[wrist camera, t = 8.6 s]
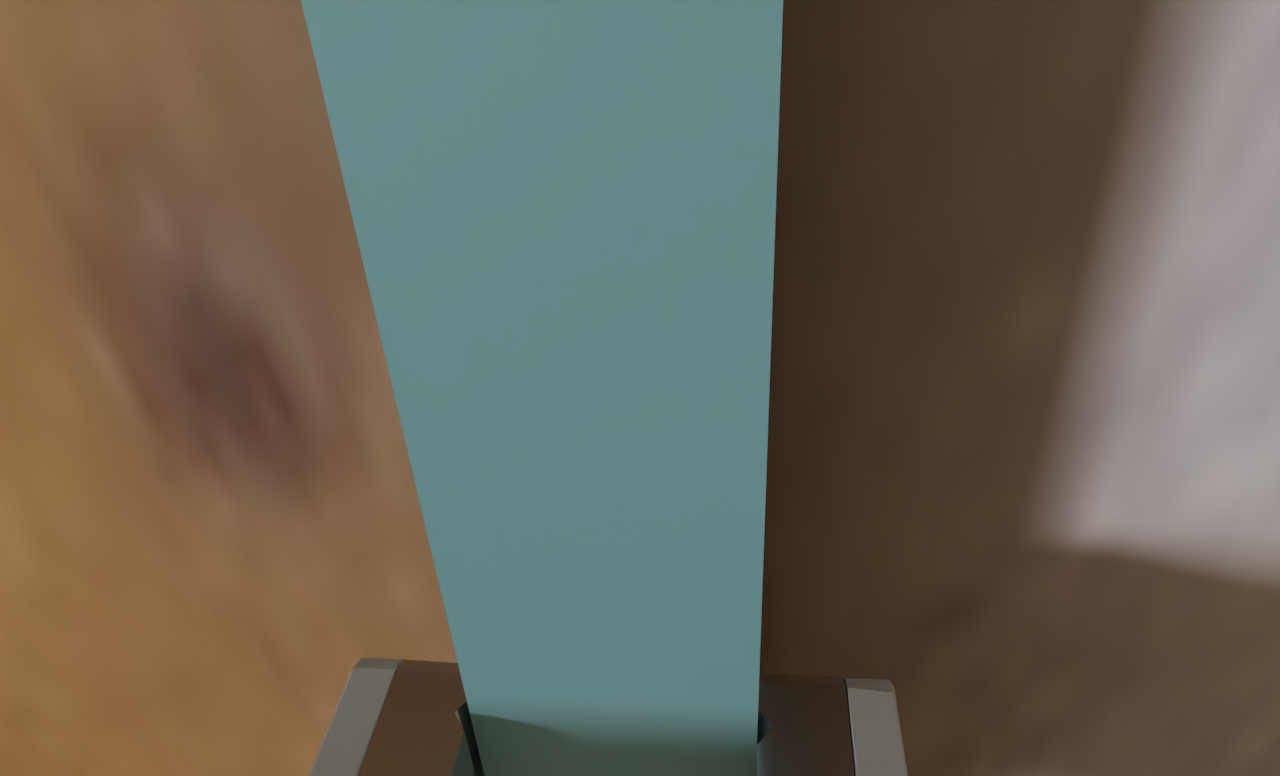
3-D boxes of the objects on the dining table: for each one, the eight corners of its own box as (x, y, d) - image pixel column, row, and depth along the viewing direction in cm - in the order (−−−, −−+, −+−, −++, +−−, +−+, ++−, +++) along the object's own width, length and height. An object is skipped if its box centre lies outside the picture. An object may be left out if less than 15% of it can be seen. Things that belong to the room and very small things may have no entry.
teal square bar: (780, -562, 7) (809, -713, 4) (741, 969, 19) (742, 1154, 17) (355, -528, 7) (146, -651, 4) (591, 960, 20) (570, 1141, 17)
